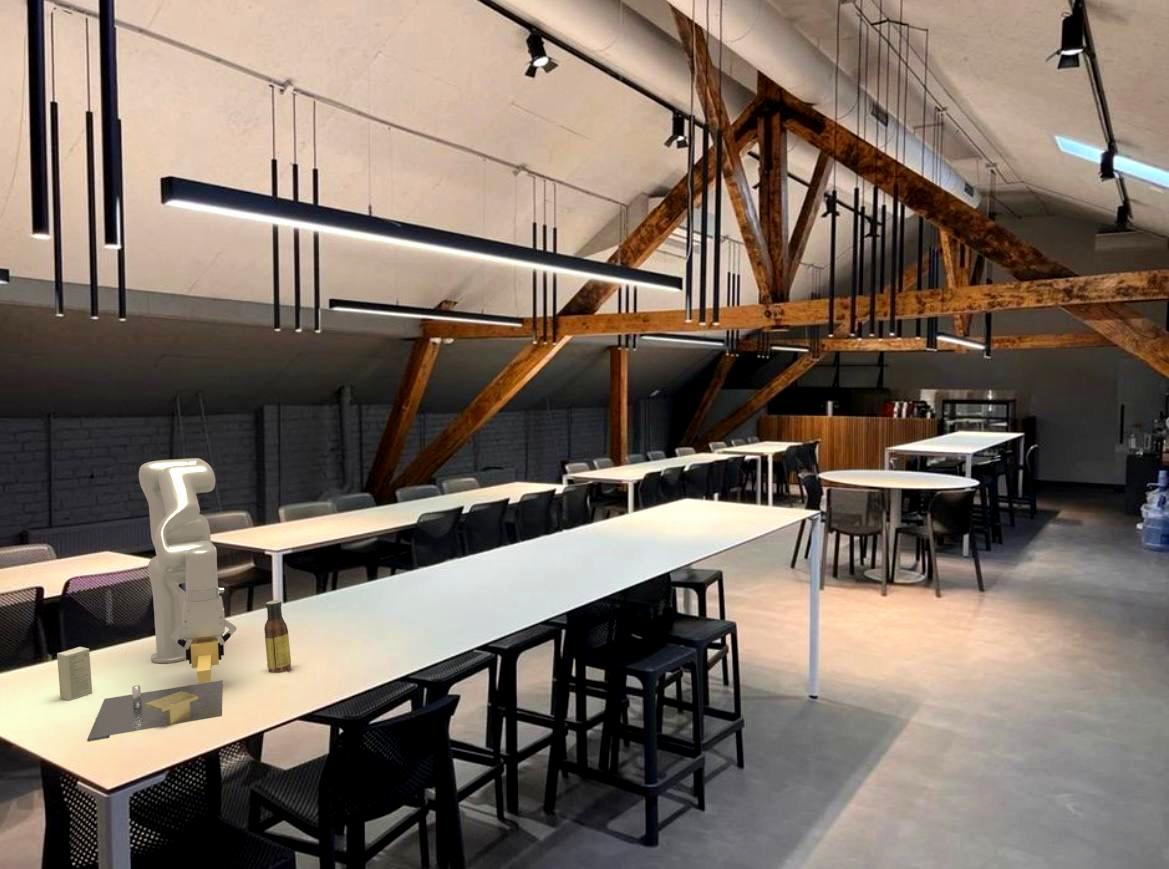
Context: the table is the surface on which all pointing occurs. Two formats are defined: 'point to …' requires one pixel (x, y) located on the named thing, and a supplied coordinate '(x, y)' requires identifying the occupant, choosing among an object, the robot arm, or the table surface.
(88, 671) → the skincare box
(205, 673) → the link
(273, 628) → the sauce bottle
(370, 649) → the table surface
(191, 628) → the robot arm
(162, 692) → the pintle board
